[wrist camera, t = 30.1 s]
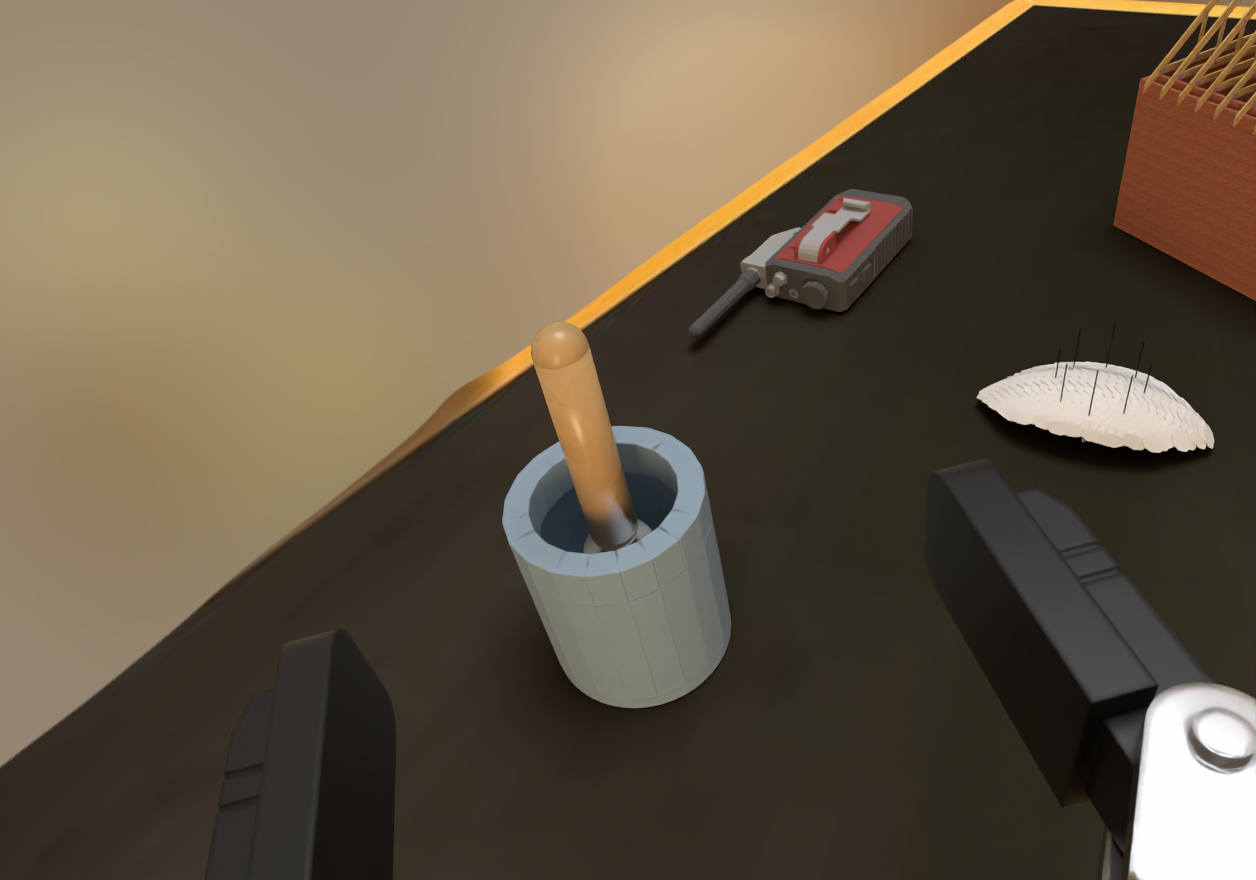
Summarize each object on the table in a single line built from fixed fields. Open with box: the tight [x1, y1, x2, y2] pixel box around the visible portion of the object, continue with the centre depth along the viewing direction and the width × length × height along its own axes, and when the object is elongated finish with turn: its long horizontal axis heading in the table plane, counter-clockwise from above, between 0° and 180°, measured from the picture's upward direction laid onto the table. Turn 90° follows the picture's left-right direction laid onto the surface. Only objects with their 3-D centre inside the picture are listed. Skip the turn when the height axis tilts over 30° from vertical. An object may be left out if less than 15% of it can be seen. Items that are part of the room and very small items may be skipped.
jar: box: [502, 426, 731, 708], centre depth 42 cm, size 9×9×10 cm
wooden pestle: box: [531, 322, 652, 554], centre depth 39 cm, size 5×5×18 cm
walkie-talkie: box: [689, 189, 913, 339], centre depth 64 cm, size 9×4×20 cm
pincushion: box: [977, 321, 1214, 453], centre depth 48 cm, size 12×6×6 cm, turn 58°
